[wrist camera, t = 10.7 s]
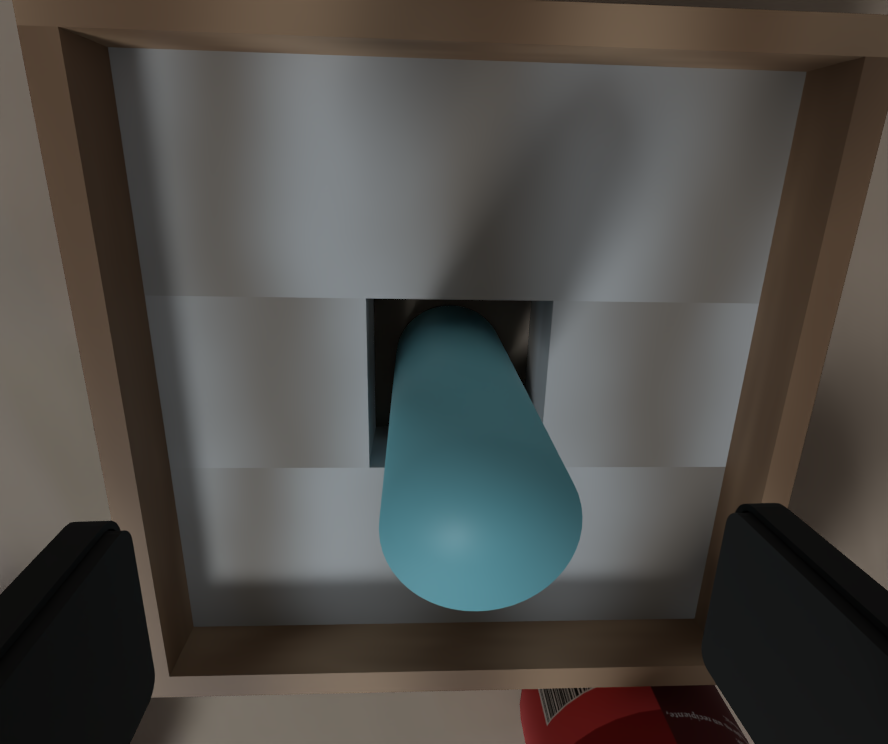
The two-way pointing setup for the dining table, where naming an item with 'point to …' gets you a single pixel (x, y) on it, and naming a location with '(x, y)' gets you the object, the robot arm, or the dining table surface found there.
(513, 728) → the dining table surface
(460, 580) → the peg
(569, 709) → the canned food
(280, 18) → the bore box
